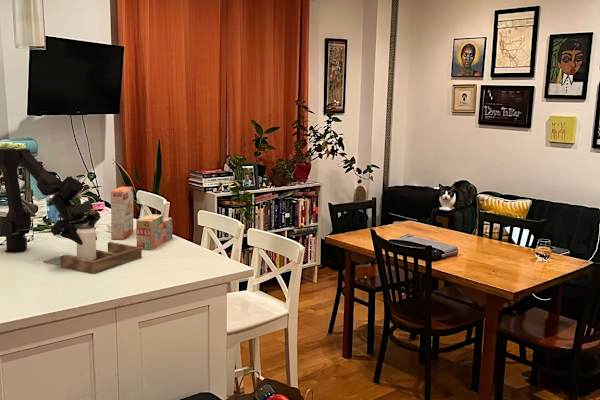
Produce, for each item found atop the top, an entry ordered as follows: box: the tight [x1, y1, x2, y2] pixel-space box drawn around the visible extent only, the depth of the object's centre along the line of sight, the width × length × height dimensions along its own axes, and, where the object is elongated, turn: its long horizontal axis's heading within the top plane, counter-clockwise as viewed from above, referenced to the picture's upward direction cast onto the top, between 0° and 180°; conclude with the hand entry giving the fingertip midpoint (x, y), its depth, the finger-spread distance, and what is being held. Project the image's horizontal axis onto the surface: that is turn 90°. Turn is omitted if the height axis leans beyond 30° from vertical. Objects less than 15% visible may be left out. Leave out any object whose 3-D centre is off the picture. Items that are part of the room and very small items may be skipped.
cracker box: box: [110, 186, 134, 240], centre depth 253 cm, size 14×6×21 cm, turn 179°
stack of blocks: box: [135, 213, 173, 251], centre depth 243 cm, size 21×6×12 cm, turn 169°
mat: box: [42, 253, 77, 267], centre depth 215 cm, size 10×11×1 cm
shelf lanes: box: [60, 241, 143, 275], centre depth 214 cm, size 16×24×4 cm, turn 154°
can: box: [75, 225, 97, 261], centre depth 209 cm, size 6×6×12 cm
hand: (89, 242), depth 208 cm, fingers closed on can, 6 cm apart
